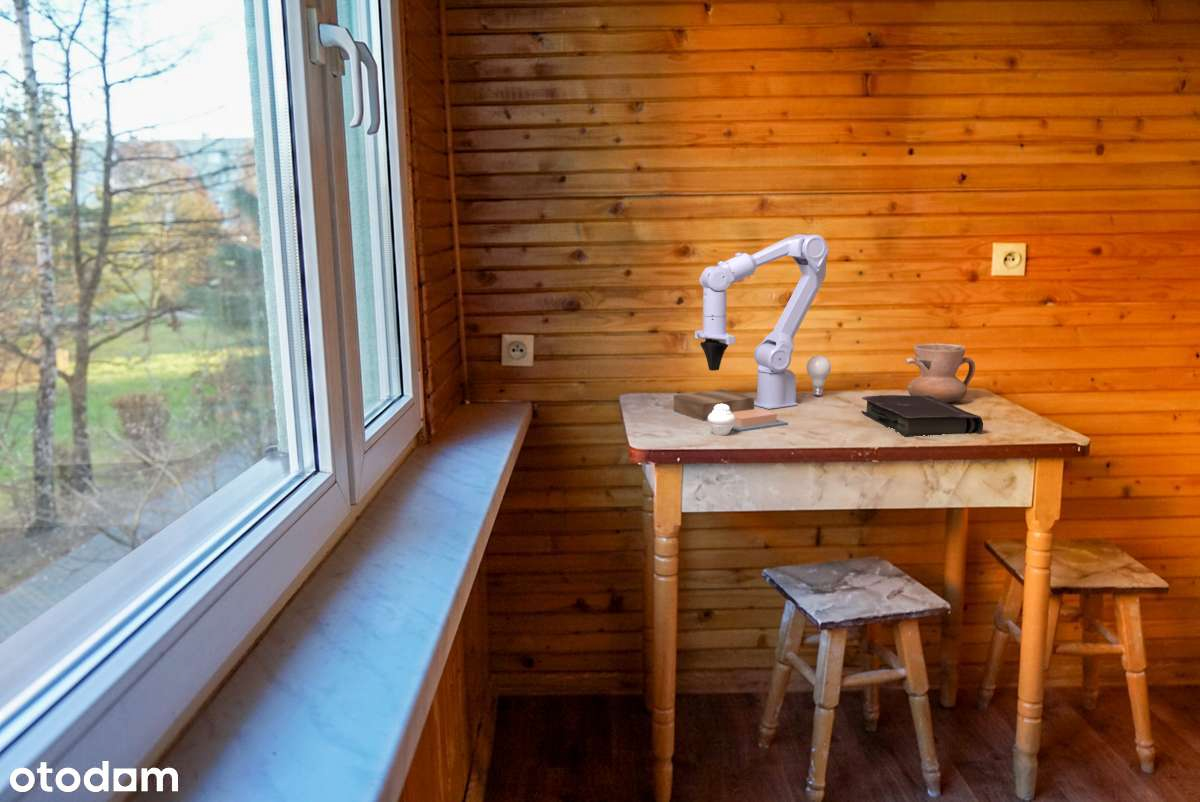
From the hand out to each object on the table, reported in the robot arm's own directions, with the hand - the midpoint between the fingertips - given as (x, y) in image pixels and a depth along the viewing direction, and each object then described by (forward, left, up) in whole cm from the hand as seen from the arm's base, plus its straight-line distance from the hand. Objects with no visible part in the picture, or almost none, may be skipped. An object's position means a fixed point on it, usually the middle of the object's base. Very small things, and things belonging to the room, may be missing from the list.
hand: (714, 370), depth 233 cm
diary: (-31, +38, -11) cm, 50 cm away
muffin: (+14, +23, -10) cm, 29 cm away
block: (+2, +18, -8) cm, 20 cm away
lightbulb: (-33, +1, -10) cm, 35 cm away
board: (+2, +4, -10) cm, 11 cm away
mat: (+2, +17, -10) cm, 20 cm away
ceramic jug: (-55, +22, -10) cm, 60 cm away
